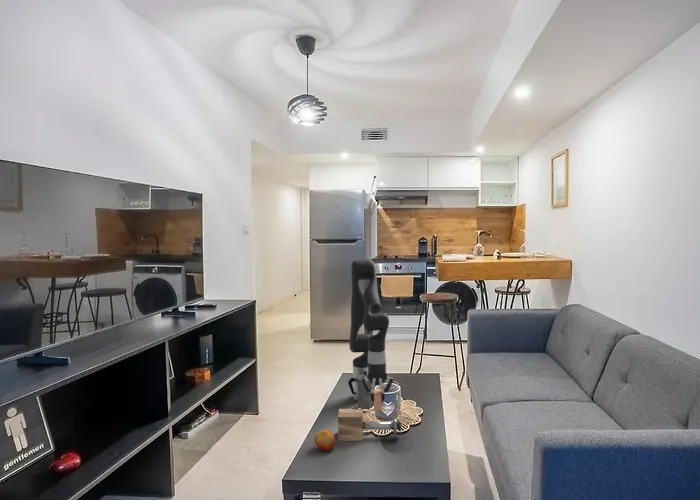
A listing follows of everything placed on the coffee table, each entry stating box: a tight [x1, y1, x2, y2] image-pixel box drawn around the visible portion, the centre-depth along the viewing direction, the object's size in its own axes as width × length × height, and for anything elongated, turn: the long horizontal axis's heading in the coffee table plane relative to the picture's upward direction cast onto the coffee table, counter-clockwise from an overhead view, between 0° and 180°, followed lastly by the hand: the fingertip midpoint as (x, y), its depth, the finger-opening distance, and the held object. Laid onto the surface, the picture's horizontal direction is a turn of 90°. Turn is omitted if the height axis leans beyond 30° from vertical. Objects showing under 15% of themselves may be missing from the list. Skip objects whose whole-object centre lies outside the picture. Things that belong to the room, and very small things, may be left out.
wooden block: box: [337, 408, 364, 442], centre depth 183 cm, size 8×10×10 cm
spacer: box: [373, 388, 382, 412], centre depth 181 cm, size 7×3×6 cm, turn 177°
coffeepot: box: [347, 371, 374, 409], centre depth 210 cm, size 15×9×18 cm, turn 107°
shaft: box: [362, 418, 402, 434], centre depth 182 cm, size 6×18×6 cm, turn 87°
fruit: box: [313, 428, 335, 451], centre depth 174 cm, size 8×8×8 cm
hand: (377, 401), depth 182 cm, fingers closed on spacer, 3 cm apart
